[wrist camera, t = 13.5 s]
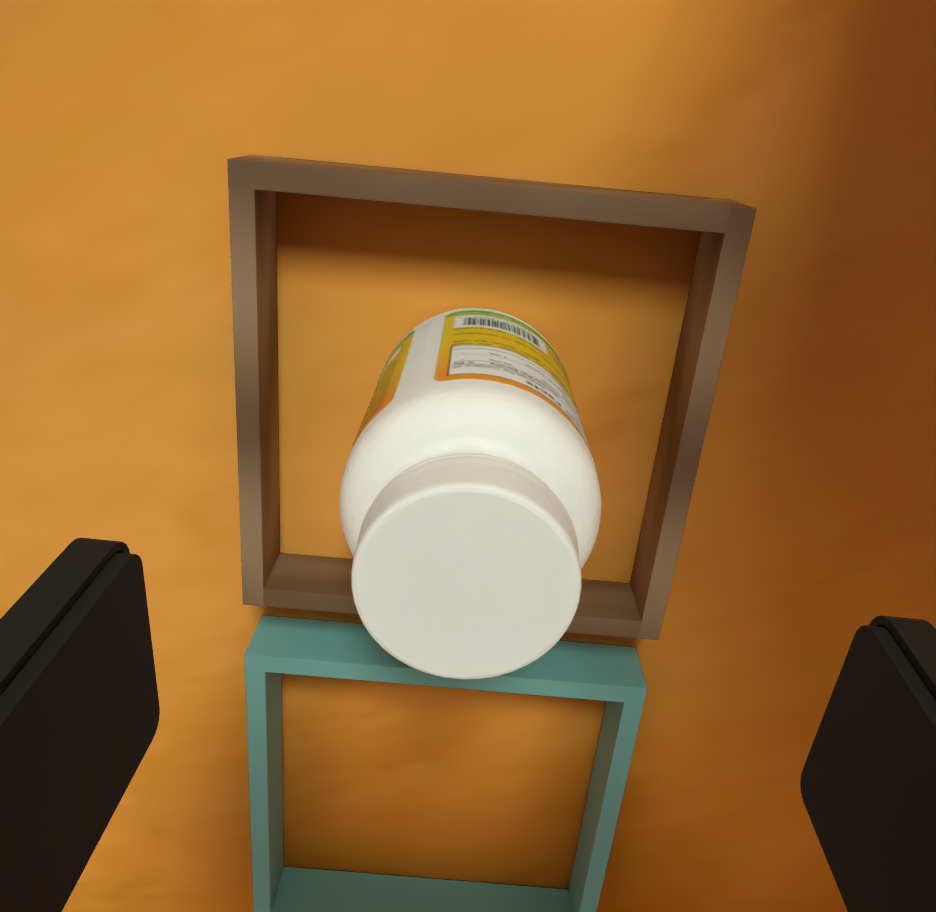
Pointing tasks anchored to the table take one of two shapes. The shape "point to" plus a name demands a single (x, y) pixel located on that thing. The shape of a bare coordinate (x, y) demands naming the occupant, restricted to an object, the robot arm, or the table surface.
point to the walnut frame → (718, 219)
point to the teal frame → (361, 658)
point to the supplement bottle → (470, 498)
